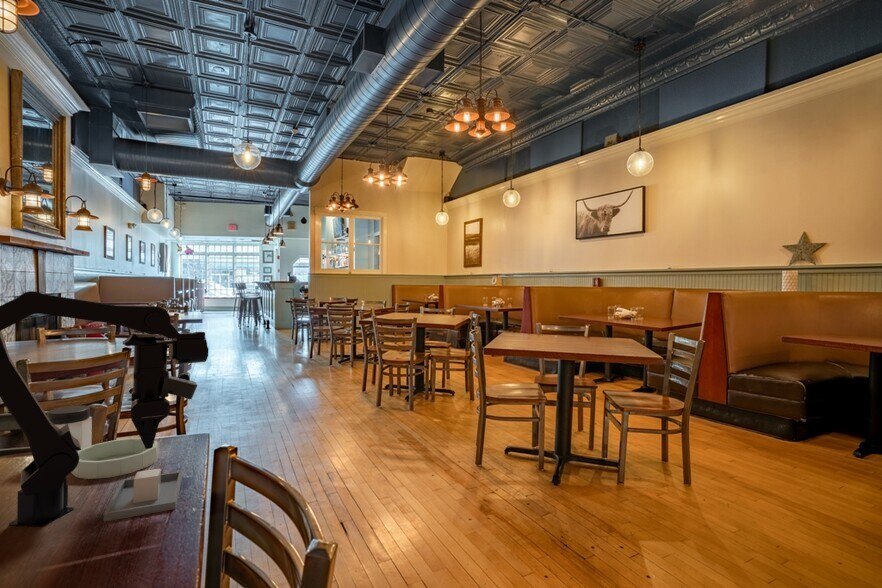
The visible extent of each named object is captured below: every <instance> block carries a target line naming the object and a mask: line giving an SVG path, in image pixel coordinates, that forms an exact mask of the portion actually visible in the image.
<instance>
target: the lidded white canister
mask: <svg viewBox="0 0 882 588" xmlns="http://www.w3.org/2000/svg"><path fill="white" fill-rule="evenodd" d="M90 412H91V407H90V406H89V405H70V406H69V405H68V406H61V407H57V408H52V409H50V410H48V411H47V413H46V415H47V416H48V418H49V420H50V421H51V422H52V423H53V424H54V425H55V426H57V427H58V428H59V429H60V428H62V427H64V426H65V425H67V424H68V426H69V429H70V432H71V434H72V436H73V437H74V438H76V439H77V440H78V441H79V444H80V447H81V450H82V449H84V448H87V447H89V446H92V444H93V443H92V442H93V441H92V438H93V437H92V435H93V434H92V432H93V429H92V426H93V417H92V416H90V415H91V413H90Z"/></svg>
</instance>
